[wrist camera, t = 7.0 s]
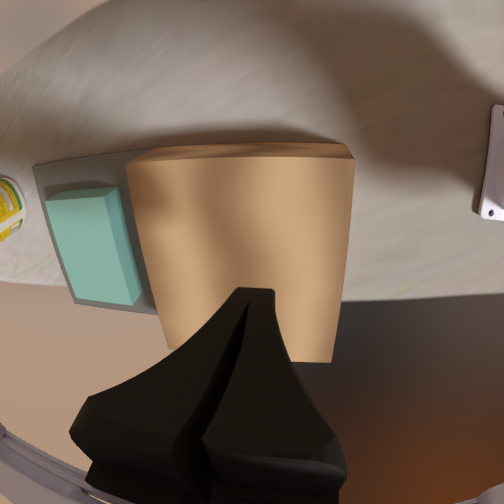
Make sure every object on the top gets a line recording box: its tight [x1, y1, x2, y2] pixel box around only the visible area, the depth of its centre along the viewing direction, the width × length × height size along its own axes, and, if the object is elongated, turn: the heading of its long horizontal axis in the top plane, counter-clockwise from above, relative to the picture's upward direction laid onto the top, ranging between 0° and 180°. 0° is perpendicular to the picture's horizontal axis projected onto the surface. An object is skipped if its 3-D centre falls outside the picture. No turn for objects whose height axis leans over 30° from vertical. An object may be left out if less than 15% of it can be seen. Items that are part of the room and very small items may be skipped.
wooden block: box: [125, 142, 355, 363], centre depth 20 cm, size 12×14×4 cm
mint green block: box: [45, 187, 143, 306], centre depth 23 cm, size 6×9×2 cm, turn 3°
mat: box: [33, 148, 158, 315], centre depth 24 cm, size 12×14×1 cm
